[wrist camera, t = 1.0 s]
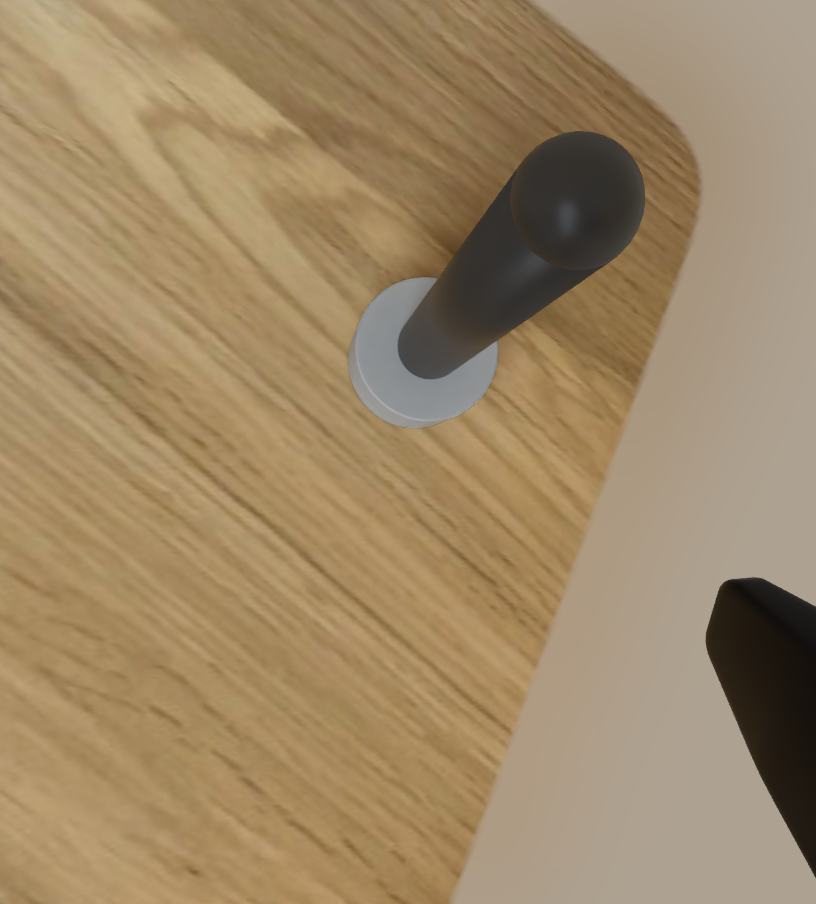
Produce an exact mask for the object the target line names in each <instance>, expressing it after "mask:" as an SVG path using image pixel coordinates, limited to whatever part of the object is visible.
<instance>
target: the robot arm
mask: <svg viewBox="0 0 816 904" xmlns="http://www.w3.org/2000/svg"><path fill="white" fill-rule="evenodd" d="M706 647H707V651H708V654H709V657H710V660H711V662H712V664H713V667H714V669H715V672H716V674H717V676H718V679H719V681H720V683H721V686H722V688H723V690H724V692H725V695H726V697H727V700H728V702H729V705H730V707H731V709H732V711H733V714H734V716H735V718H736V721H737V723H738V725H739V728H740V730H741V733H742V735H743V738H744V740H745V742H746V744H747V747H748V749H749V752H750V754H751V756H752V758H753V760H754V763H755V765H756V767H757V769H758V771H759V774H760V776H761V778H762V780H763V781H764V784H765V785H766V787H767V789H768V791H769V793H770V795H771V797H772V799H773V801H774V803H775V804H776V806H777V808H778V810H779V812H780V814H781V815H782V817H783V819H784V821H785V822H786V824H787V826H788V828H789V830H790V832H791V834H792V835H793V837H794V839H795V841H796V842H797V845H798V846H799V848H800V850H801V852H802V853H803V855H804V857H805V859H806V861H807V863H808V865H809V867H810V868H811V870H812V872H813V874H814V876H815V877H816V606H813V605H811V604H810V603H808V602H806V601H804V600H802V599H800V598H798V597H797V596H795V595H793V594H791V593H789V592H787V591H785V590H783V589H781V588H780V587H778V586H776V585H774V584H772V583H770V582H768V581H766V580H764V579H762V578H755V577H754V578H742V579H731V580H728V581H725V582H724V583H723V584H722V585H721V586H720V588H719V591H718V594H717V598H716V601H715V604H714V608H713V611H712V614H711V618H710V621H709V625H708V628H707V632H706Z"/></svg>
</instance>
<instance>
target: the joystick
mask: <svg viewBox="0 0 816 904" xmlns="http://www.w3.org/2000/svg"><path fill="white" fill-rule="evenodd" d="M644 206H645V189H644V183H643V179H642V175H641V172H640V170H639V168H638V165H637V164H636V162H635V160H634V159H633V157H632V156H631V155H630V154H629V152H628V151H627V150H626V149H625V148H624V147H623V146H621V145H620V144H619V143H617V142H616V141H614V140H613V139H610V138H608V137H606V136H604V135H601V134H597V133H593V132H582V131H575V132H568V133H564V134H561V135H558V136H556V137H553V138H551V139H548V140H546V141H545V142H543V143H542V144H540V145H539V146H537V147H536V148H535V149H534V150H533V151H532V152H531V153H530V154H529V155H528V156H526V158H525V159H524V160H523V161H522V163H521V164H520V165H519V167H518V168H517V169H516V171H515V172H514V174H513V175H512V176H511V178H510V179H509V181H508V182H507V183H506V185H505V186H504V188H503V189H502V190H501V192H500V193H499V194H498V196H497V197H496V199H495V200H494V201H493V203H492V204H491V206H490V207H489V208H488V210H487V211H486V212H485V214H484V215H483V217H482V218H481V219H480V221H479V222H478V224H477V225H476V226H475V228H474V229H473V231H472V232H471V233H470V235H469V236H468V237H467V239H466V240H465V242H464V243H463V244H462V246H461V247H460V249H459V250H458V251H457V253H456V254H455V256H454V257H453V258H452V260H451V261H450V262H449V264H448V265H447V267H446V268H445V269H444V271H443V272H442V274H441V275H440V276H439V278H433V277H416V278H410V279H406V280H403V281H400V282H397V283H395V284H393V285H391V286H389V287H388V288H386V289H385V290H383V291H382V292H381V293H379V294H378V295H377V296H376V297H375V298H374V299H373V300H372V302H371V303H370V304H369V305H368V307H367V308H366V310H365V312H364V313H363V315H362V317H361V320H360V322H359V324H358V327H357V329H356V331H355V334H354V336H353V338H352V341H351V345H350V349H349V357H348V365H349V373H350V377H351V381H352V384H353V386H354V389H355V391H356V393H357V394H358V396H359V398H360V399H361V401H362V402H363V403H364V405H365V406H366V407H367V408H368V409H369V410H370V411H371V412H373V413H374V414H375V415H376V416H378V417H380V418H381V419H383V420H384V421H387V422H389V423H391V424H394V425H397V426H401V427H407V428H423V427H429V426H433V425H436V424H438V423H441V422H443V421H446V420H448V419H450V418H453V417H455V416H458V415H460V414H461V413H463V412H465V411H467V410H468V409H469V408H471V407H472V406H473V405H475V404H476V403H477V402H478V401H479V400H480V399H481V398H482V396H483V395H484V394H485V392H486V391H487V389H488V388H489V386H490V384H491V382H492V380H493V377H494V375H495V371H496V367H497V362H498V341H497V340H499V339H500V338H501V337H503V336H504V335H506V334H507V333H509V332H510V331H512V330H513V329H514V328H516V327H517V326H519V325H520V324H522V323H523V322H524V321H526V320H527V319H529V318H530V317H532V316H533V315H534V314H536V313H537V312H539V311H540V310H542V309H543V308H544V307H546V306H547V305H549V304H550V303H552V302H553V301H554V300H556V299H557V298H559V297H560V296H562V295H563V294H564V293H566V292H567V291H569V290H570V289H572V288H573V287H574V286H576V285H577V284H579V283H580V282H582V281H583V280H584V279H586V278H587V277H589V276H590V275H592V274H593V273H594V272H596V271H597V270H599V269H600V268H602V267H603V266H604V265H606V264H607V263H609V262H610V261H612V260H613V259H614V258H616V257H617V256H618V255H619V254H620V253H621V252H622V251H623V250H624V249H625V248H626V246H627V245H628V244H629V243H630V242H631V240H632V239H633V237H634V236H635V234H636V232H637V230H638V228H639V225H640V222H641V219H642V217H643V213H644Z"/></svg>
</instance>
